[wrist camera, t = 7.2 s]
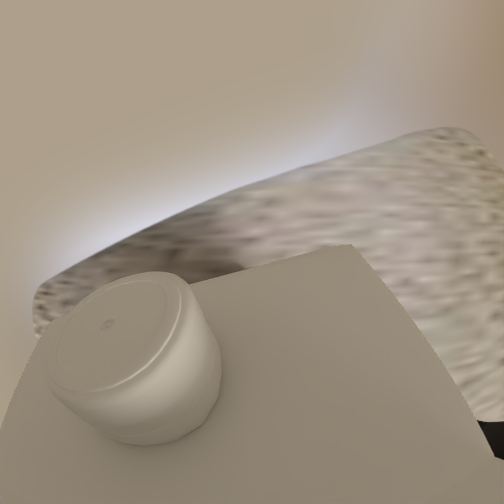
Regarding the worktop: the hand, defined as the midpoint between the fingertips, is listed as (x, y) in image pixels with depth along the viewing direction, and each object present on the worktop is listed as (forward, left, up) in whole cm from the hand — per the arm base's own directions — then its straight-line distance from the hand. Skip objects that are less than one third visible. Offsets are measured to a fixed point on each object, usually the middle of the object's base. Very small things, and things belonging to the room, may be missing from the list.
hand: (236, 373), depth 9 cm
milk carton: (-1, -1, -10) cm, 11 cm away
